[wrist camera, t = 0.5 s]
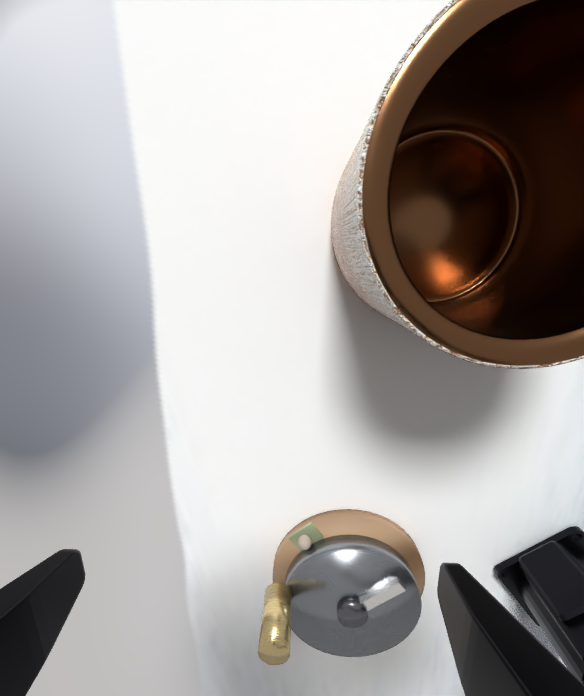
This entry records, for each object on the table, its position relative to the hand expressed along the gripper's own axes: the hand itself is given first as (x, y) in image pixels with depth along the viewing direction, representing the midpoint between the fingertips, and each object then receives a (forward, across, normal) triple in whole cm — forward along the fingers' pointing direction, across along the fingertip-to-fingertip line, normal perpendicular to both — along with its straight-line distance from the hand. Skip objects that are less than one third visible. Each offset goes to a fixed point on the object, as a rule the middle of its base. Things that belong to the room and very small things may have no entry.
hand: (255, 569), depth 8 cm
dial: (+12, -4, +15) cm, 20 cm away
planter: (+14, -8, -9) cm, 18 cm away
